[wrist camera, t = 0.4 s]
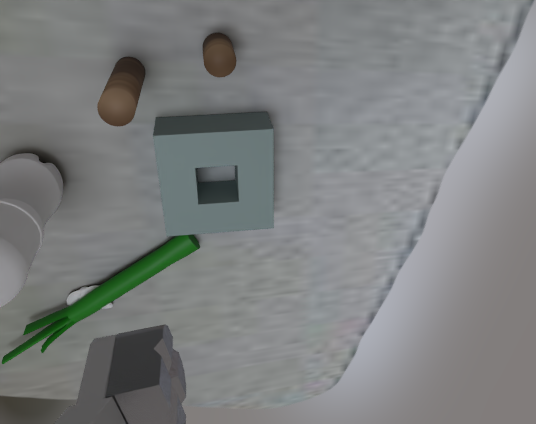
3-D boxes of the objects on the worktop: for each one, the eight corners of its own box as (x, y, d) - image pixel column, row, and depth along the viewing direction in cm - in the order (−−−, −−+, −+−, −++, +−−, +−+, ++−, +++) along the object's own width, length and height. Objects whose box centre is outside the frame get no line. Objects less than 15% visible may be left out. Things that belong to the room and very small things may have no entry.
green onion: (183, 219, 62) (-6, 338, 66) (184, 233, 59) (-13, 357, 63) (205, 245, 64) (22, 359, 68) (207, 260, 62) (16, 377, 65)
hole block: (155, 117, 54) (153, 135, 50) (267, 111, 55) (273, 128, 51) (168, 213, 60) (166, 236, 56) (267, 205, 61) (273, 228, 57)
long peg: (112, 57, 50) (94, 92, 41) (142, 56, 50) (132, 90, 41) (117, 87, 52) (101, 127, 42) (146, 85, 52) (137, 125, 43)
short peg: (201, 33, 50) (202, 45, 46) (231, 32, 50) (235, 44, 46) (203, 63, 52) (205, 77, 47) (233, 62, 52) (236, 76, 48)
